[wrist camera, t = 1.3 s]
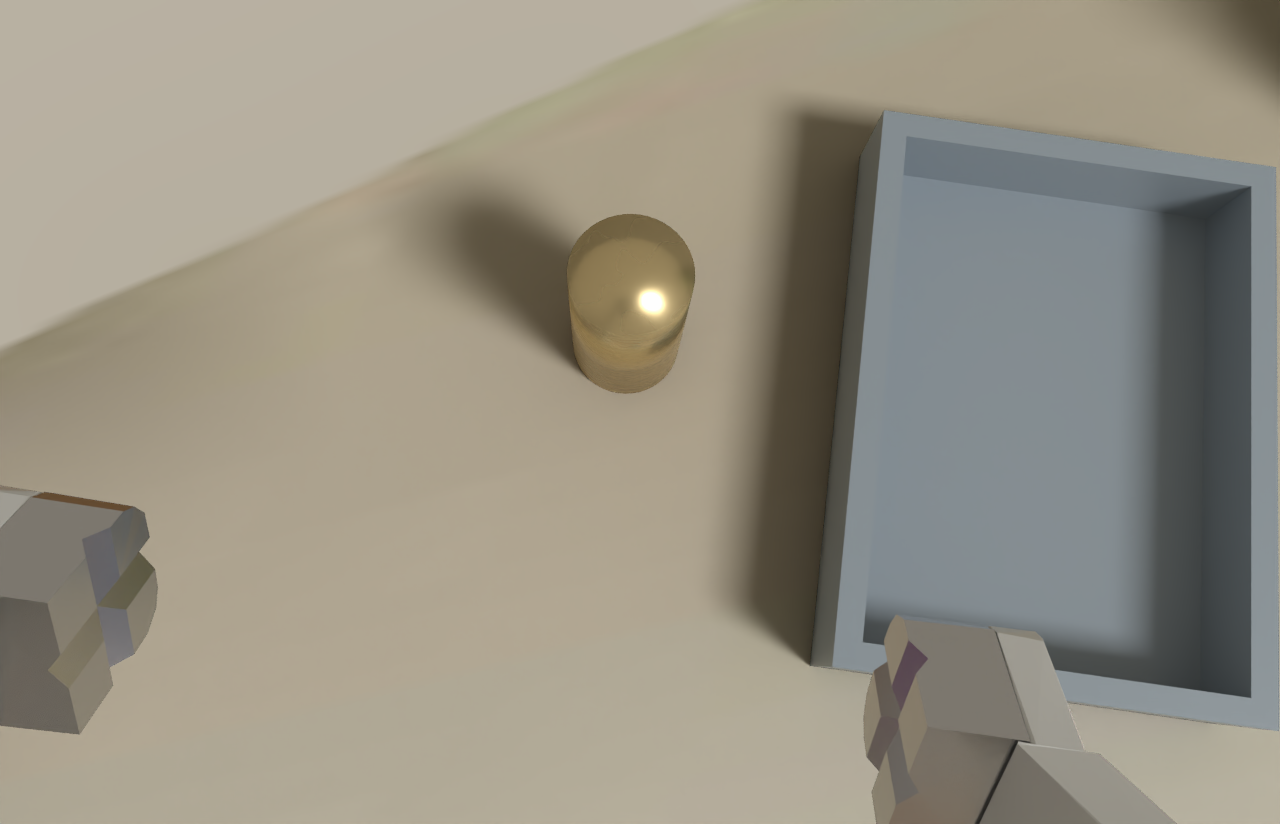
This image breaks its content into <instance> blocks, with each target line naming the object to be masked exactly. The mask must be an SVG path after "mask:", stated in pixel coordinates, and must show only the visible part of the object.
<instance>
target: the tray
mask: <svg viewBox="0 0 1280 824" xmlns="http://www.w3.org/2000/svg"><path fill="white" fill-rule="evenodd" d="M896 614H897V615H905V616H912V617H920V618H927V619H935V620H942V621H949V622H957V623H964V624H972V625H979V626H985V627H989V626H994V627H1002V628H1010V629H1018V630H1026V631H1035V632H1036V633H1037V634H1038V635H1040V636H1041V637H1042V638H1043V641H1044V643H1045V646H1046V648H1047V651H1048V654H1049V656H1050V659H1051V661H1052V664H1053V667H1054V669H1055V672H1056V675H1057V677H1058V680H1059V682H1060V685H1061V688H1062V690H1063V693H1064V696H1065V698H1066V701H1067V703H1074V704H1080V705H1087V706H1094V707H1101V708H1108V709H1115V710H1122V711H1129V712H1136V713H1143V714H1150V715H1157V716H1164V717H1171V718H1178V719H1185V720H1192V721H1199V722H1206V723H1213V724H1221V725H1230V726H1239V727H1248V728H1256V729H1265V730H1274V731H1279V607H1278V435H1277V263H1276V167H1271V166H1264V165H1257V164H1250V163H1244V162H1237V161H1230V160H1223V159H1216V158H1209V157H1202V156H1195V155H1189V154H1182V153H1175V152H1168V151H1161V150H1154V149H1147V148H1140V147H1134V146H1127V145H1120V144H1113V143H1106V142H1099V141H1092V140H1085V139H1079V138H1072V137H1065V136H1058V135H1051V134H1044V133H1037V132H1030V131H1024V130H1017V129H1010V128H1003V127H996V126H989V125H982V124H976V123H969V122H962V121H955V120H948V119H941V118H934V117H927V116H921V115H914V114H907V113H900V112H893V111H886V110H884V111H883V113H882V115H881V117H880V119H879V121H878V123H877V125H876V127H875V129H874V131H873V132H872V134H871V136H870V138H869V140H868V142H867V144H866V146H865V148H864V150H863V152H862V154H861V156H860V160H859V170H858V180H857V191H856V201H855V211H854V221H853V231H852V242H851V252H850V262H849V272H848V282H847V293H846V303H845V313H844V323H843V334H842V344H841V354H840V364H839V374H838V385H837V395H836V405H835V415H834V425H833V436H832V446H831V456H830V466H829V476H828V487H827V497H826V507H825V517H824V527H823V538H822V548H821V558H820V568H819V579H818V589H817V599H816V609H815V619H814V630H813V640H812V650H811V660H810V666H816V667H823V668H830V669H837V670H844V671H851V672H858V673H865V674H873V671H874V670H875V669H877V668H878V667H880V666H881V665H883V664H884V663H886V662H887V657H886V651H885V645H884V639H885V636H886V633H887V630H888V628H889V625H890V623H891V621H892V620H893V619H894V617H895V616H896Z"/></svg>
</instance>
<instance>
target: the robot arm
mask: <svg viewBox="0 0 1280 824" xmlns="http://www.w3.org/2000/svg"><path fill="white" fill-rule="evenodd" d="M149 537H150V536H149V532H148V527H147V522H146V518H145V513H144V512H142V511H141V510H139V509H137V508H136V507H134V506H128V505H122V504H116V503H110V502H103V501H97V500H91V499H85V498H79V497H73V496H67V495H61V494H55V493H49V492H44V493H42V492H37V491H31V490H25V489H19V488H13V487H7V486H1V485H0V726H8V727H17V728H26V729H35V730H44V731H53V732H62V733H71V734H80V733H81V732H82V730H83V729H84V728H85V726H86V725H87V723H88V722H89V720H90V719H91V717H92V716H93V714H94V713H95V711H96V710H97V708H98V707H99V706H100V704H101V703H102V701H103V700H104V698H105V697H106V695H107V694H108V692H109V691H110V689H111V688H112V686H113V682H112V677H111V672H110V667H111V666H113V665H115V664H117V663H119V662H121V661H122V660H124V659H126V658H128V657H130V656H132V655H133V654H135V652H136V651H137V649H138V648H139V646H140V644H141V643H142V641H143V640H144V638H145V637H146V635H147V634H148V631H149V628H150V625H151V622H152V619H153V616H154V613H155V610H156V604H157V590H158V586H157V579H156V572H155V569H154V567H153V566H152V565H151V564H150V563H149V562H148V561H147V560H146V559H145V558H144V557H143V556H142V555H141V554H140V552H139V551H140V550H141V548H142V547H143V545H144V544H145V543H146V541H147V540H148V539H149ZM884 645H885V651H886V657H887V662H886V663H884V664H883V665H881V666H880V667H878V668H877V669H875V670H874V671H873V674H872V677H871V681H870V684H869V687H868V691H867V695H866V703H865V710H864V742H865V749H866V757H867V758H868V759H869V760H870V762H871V763H872V764H873V765H874V766H875V767H876V768H877V770H878V771H879V773H878V776H877V778H876V781H875V784H874V787H873V789H872V798H873V805H874V811H875V818H876V824H1177V823H1176V822H1175V821H1173V820H1172V819H1171V818H1170V817H1169V816H1168V815H1167V814H1166V813H1165V812H1164V811H1162V810H1161V809H1160V808H1159V807H1158V806H1157V805H1156V804H1155V803H1154V802H1153V801H1151V800H1150V799H1149V798H1148V797H1147V796H1146V795H1145V794H1144V793H1143V792H1141V791H1140V790H1139V789H1138V788H1137V787H1136V786H1135V785H1134V784H1133V783H1132V782H1130V781H1129V780H1128V779H1127V778H1126V777H1125V776H1124V775H1123V774H1122V773H1121V772H1119V771H1118V770H1117V769H1116V768H1115V767H1114V766H1113V765H1112V764H1111V763H1110V762H1108V761H1107V760H1106V759H1105V758H1104V757H1103V756H1102V755H1101V754H1099V753H1092V752H1086V751H1085V748H1084V745H1083V743H1082V740H1081V737H1080V735H1079V732H1078V730H1077V727H1076V724H1075V722H1074V719H1073V717H1072V714H1071V711H1070V709H1069V706H1068V703H1067V701H1066V698H1065V696H1064V693H1063V690H1062V688H1061V685H1060V682H1059V680H1058V677H1057V675H1056V672H1055V669H1054V667H1053V664H1052V661H1051V659H1050V656H1049V654H1048V651H1047V648H1046V646H1045V643H1044V641H1043V638H1042V637H1041V636H1040V635H1038V634H1037V633H1036V632H1035V631H1026V630H1018V629H1010V628H1002V627H994V626H989V627H985V626H979V625H972V624H964V623H957V622H949V621H942V620H935V619H927V618H920V617H912V616H905V615H897V614H896V616H895V617H894V619H893V620H892V621H891V623H890V625H889V628H888V630H887V633H886V636H885V639H884Z"/></svg>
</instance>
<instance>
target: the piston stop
mask: <svg viewBox="0 0 1280 824" xmlns="http://www.w3.org/2000/svg"><path fill="white" fill-rule="evenodd" d="M694 283H695V267H694V262H693V258H692V256H691V253H690V251H689V249H688V247H687V245H686V243H685V242H684V241H683V239H682V238H681V237H680V236H679V235H678V234H677V232H675V231H674V230H673V229H672V228H671V227H669V226H668V225H666V224H665V223H663V222H661V221H659V220H657V219H654V218H651V217H648V216H644V215H637V214H623V215H617V216H613V217H609V218H606V219H604V220H602V221H599V222H598V223H596V224H594V225H593V226H592V227H590V228H589V229H588V230H586V231H585V232H584V233H583V234H582V236H581V237H580V238H579V239H578V241H577V242H576V244H575V245H574V247H573V249H572V251H571V254H570V257H569V261H568V265H567V284H568V295H569V306H570V317H571V327H572V338H573V349H574V354H575V357H576V360H577V363H578V365H579V367H580V368H581V370H582V371H583V373H584V374H585V375H586V376H587V377H588V378H589V379H590V380H591V381H592V382H593V383H595V384H596V385H598V386H599V387H601V388H603V389H606V390H608V391H611V392H616V393H625V394H626V393H636V392H641V391H644V390H647V389H649V388H651V387H653V386H654V385H656V384H657V383H659V382H660V381H661V380H662V379H663V378H664V377H665V376H666V375H667V374H668V373H669V371H670V370H671V368H672V366H673V364H674V362H675V359H676V356H677V352H678V348H679V344H680V340H681V336H682V332H683V328H684V324H685V320H686V316H687V313H688V309H689V305H690V301H691V297H692V293H693V288H694Z"/></svg>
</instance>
